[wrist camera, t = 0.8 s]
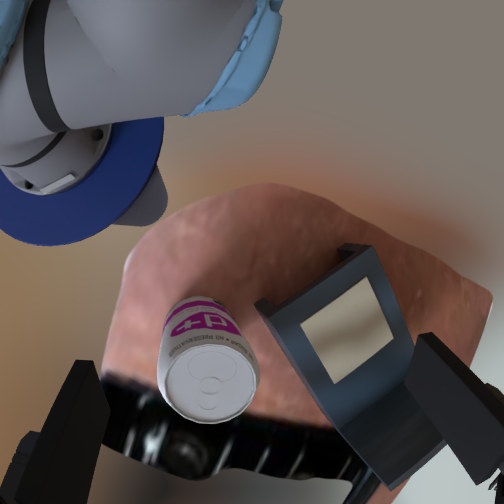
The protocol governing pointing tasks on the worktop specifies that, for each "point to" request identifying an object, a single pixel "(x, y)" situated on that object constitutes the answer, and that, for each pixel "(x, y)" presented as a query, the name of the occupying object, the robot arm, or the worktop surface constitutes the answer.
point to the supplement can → (205, 362)
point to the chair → (358, 362)
